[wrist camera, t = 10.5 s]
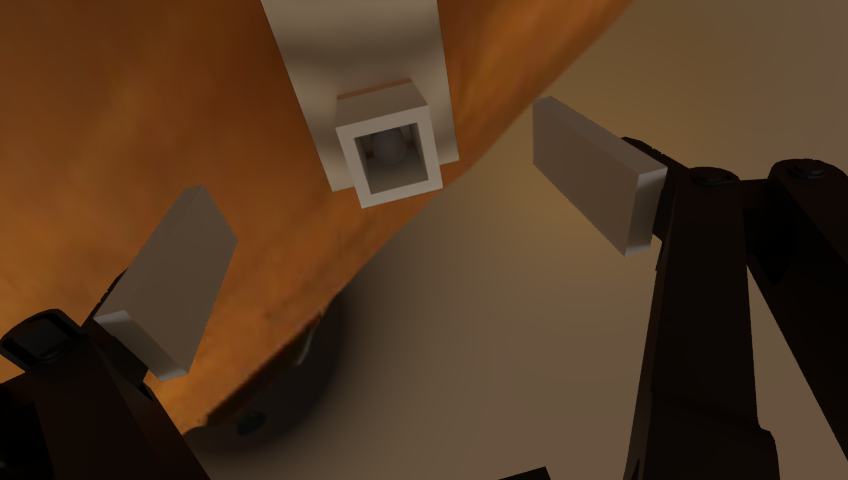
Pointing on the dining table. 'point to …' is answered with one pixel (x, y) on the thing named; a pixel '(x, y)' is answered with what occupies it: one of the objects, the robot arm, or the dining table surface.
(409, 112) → the sleeve
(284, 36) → the pin board
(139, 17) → the dining table surface
